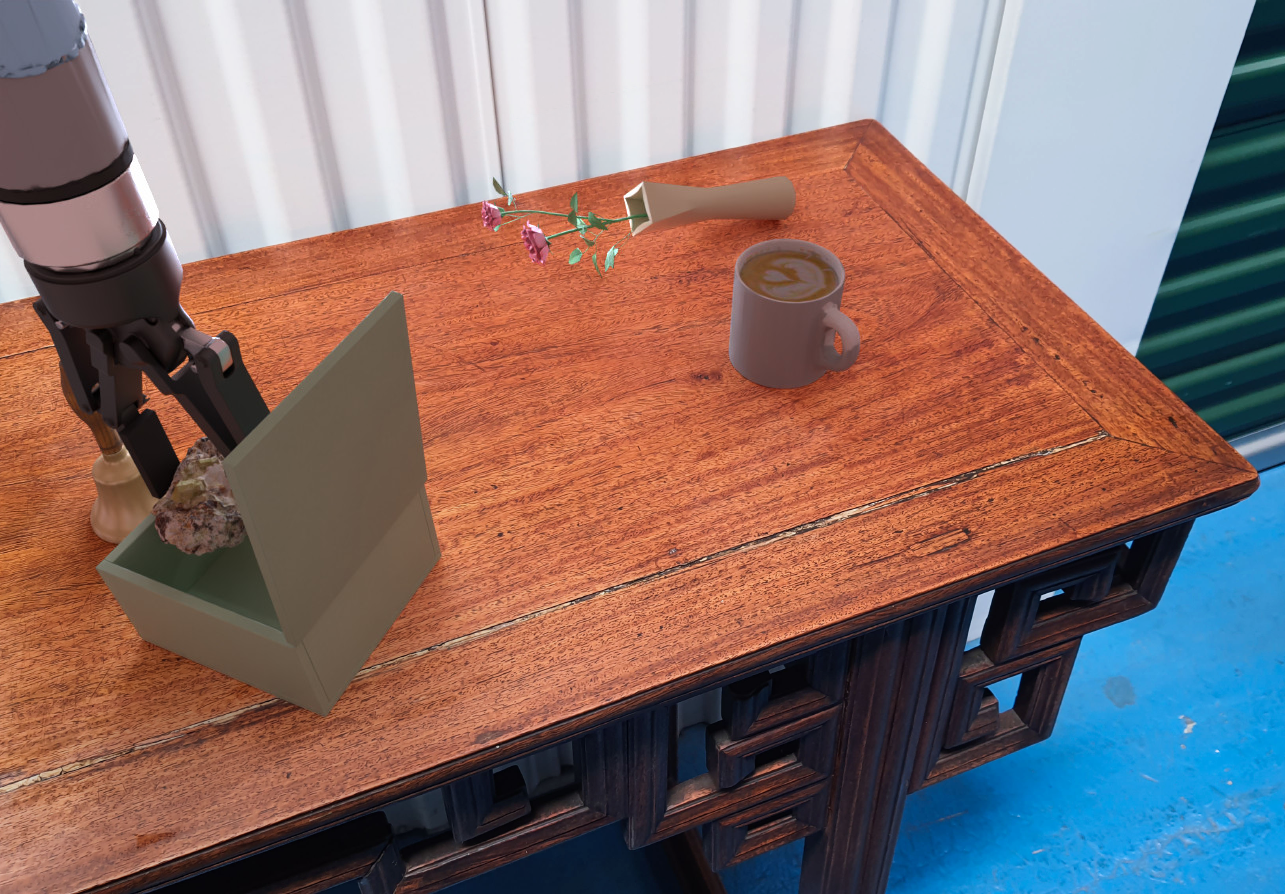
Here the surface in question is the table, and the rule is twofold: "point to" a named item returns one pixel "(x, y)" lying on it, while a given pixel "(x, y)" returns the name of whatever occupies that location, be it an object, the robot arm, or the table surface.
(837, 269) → the coffee mug
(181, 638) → the chest
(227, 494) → the mineral rock
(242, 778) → the table surface
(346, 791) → the table surface
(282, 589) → the chest lid
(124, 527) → the hand bell
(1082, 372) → the table surface
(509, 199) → the flower vase
